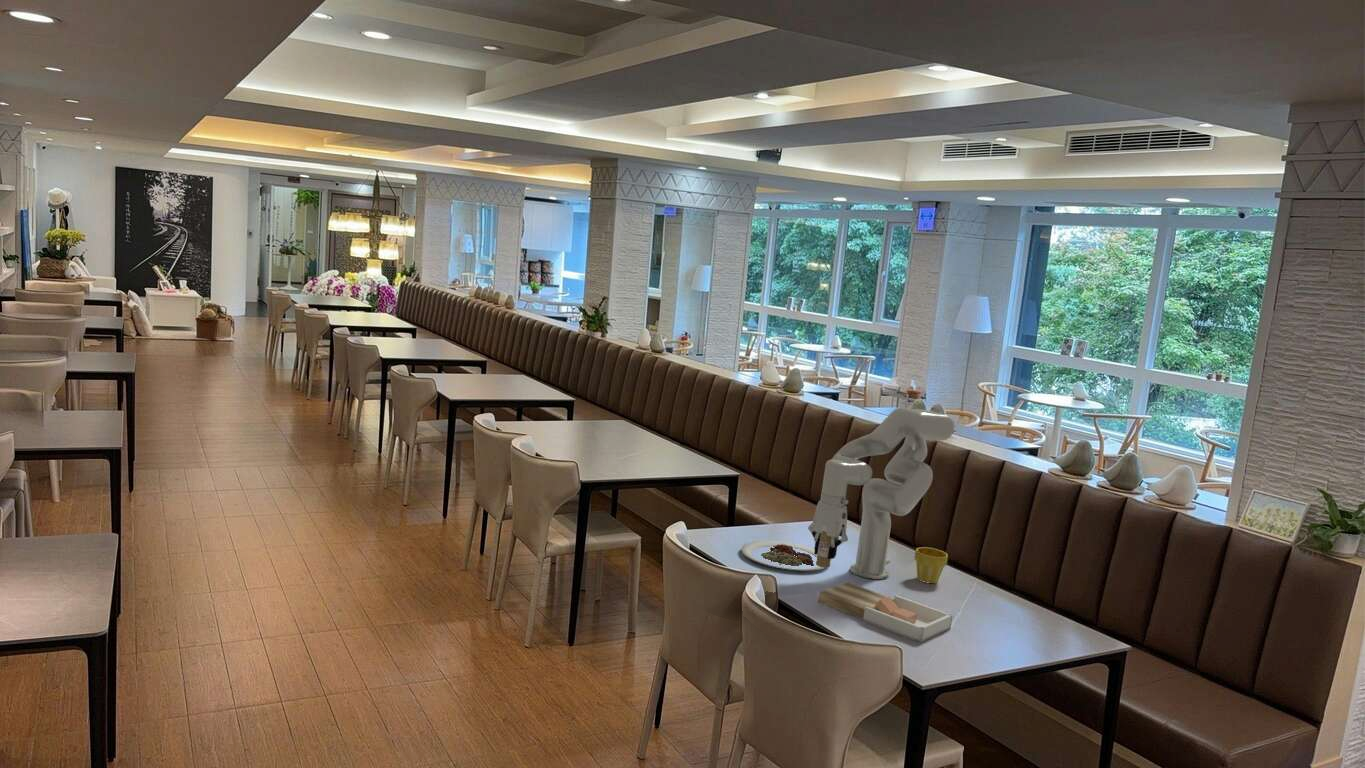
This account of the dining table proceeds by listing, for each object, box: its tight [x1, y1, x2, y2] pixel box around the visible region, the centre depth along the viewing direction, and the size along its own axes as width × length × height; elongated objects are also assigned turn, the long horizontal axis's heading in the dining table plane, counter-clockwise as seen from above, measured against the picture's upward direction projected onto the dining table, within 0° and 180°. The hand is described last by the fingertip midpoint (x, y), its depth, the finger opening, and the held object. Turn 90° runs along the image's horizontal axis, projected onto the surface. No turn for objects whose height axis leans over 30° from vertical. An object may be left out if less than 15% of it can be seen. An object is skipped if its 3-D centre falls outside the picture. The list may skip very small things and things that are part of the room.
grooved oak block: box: [817, 582, 895, 620], centre depth 279 cm, size 16×16×3 cm
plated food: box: [740, 539, 832, 572], centre depth 316 cm, size 30×30×3 cm
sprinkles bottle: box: [816, 526, 832, 569], centre depth 296 cm, size 5×5×13 cm
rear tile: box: [875, 595, 900, 616], centre depth 272 cm, size 5×5×2 cm
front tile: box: [892, 608, 917, 624], centre depth 269 cm, size 5×5×2 cm
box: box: [862, 595, 954, 644], centre depth 268 cm, size 18×18×4 cm
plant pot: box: [914, 546, 949, 584], centre depth 310 cm, size 10×10×10 cm
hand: (824, 555), depth 296 cm, fingers closed on sprinkles bottle, 4 cm apart
